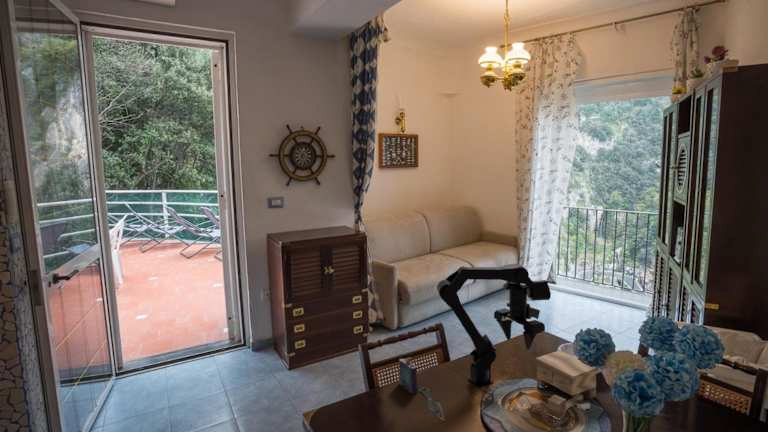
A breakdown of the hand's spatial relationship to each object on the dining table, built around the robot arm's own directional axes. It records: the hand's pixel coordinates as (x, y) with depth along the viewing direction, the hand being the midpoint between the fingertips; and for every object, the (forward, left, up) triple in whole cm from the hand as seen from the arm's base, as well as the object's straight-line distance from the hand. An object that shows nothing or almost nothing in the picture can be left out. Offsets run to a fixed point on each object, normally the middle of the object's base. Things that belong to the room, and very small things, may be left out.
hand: (518, 344), depth 142 cm
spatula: (0, -20, -13) cm, 24 cm away
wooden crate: (+7, -13, -13) cm, 20 cm away
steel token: (+5, -22, -13) cm, 26 cm away
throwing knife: (-34, +3, -14) cm, 37 cm away
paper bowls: (+23, -7, -13) cm, 27 cm away
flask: (-36, +15, -13) cm, 41 cm away
